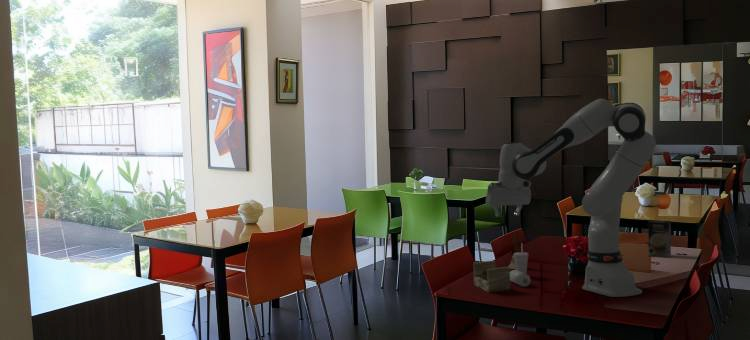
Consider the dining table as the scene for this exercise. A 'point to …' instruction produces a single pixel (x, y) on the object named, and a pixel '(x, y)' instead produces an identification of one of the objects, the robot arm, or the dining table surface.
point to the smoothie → (521, 260)
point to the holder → (491, 276)
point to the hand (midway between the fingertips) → (507, 216)
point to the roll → (519, 278)
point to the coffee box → (659, 238)
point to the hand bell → (516, 243)
